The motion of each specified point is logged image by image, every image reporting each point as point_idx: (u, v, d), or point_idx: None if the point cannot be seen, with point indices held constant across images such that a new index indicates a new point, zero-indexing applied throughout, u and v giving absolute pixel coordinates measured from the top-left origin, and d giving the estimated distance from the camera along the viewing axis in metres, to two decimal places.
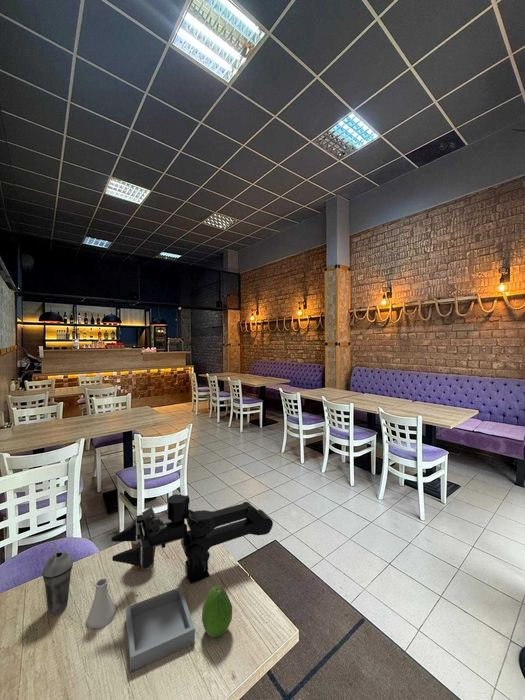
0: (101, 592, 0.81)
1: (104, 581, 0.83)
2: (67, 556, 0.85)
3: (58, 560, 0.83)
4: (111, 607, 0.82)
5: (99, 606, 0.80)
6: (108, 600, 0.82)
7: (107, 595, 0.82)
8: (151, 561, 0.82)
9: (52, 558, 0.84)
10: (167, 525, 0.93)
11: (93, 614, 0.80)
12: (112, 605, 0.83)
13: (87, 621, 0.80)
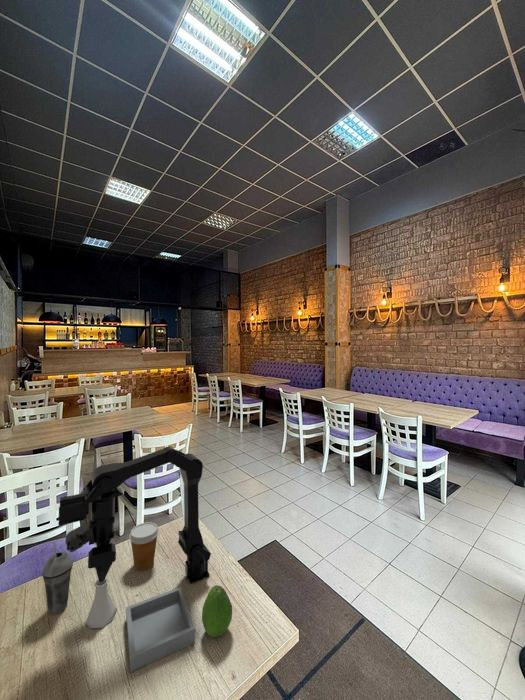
0: (101, 592, 0.81)
1: (104, 581, 0.83)
2: (67, 556, 0.85)
3: (58, 560, 0.83)
4: (111, 607, 0.82)
5: (99, 606, 0.80)
6: (108, 600, 0.82)
7: (107, 595, 0.82)
8: (107, 554, 0.75)
9: (52, 558, 0.84)
10: (91, 518, 0.80)
11: (93, 614, 0.80)
12: (112, 605, 0.83)
13: (87, 621, 0.80)
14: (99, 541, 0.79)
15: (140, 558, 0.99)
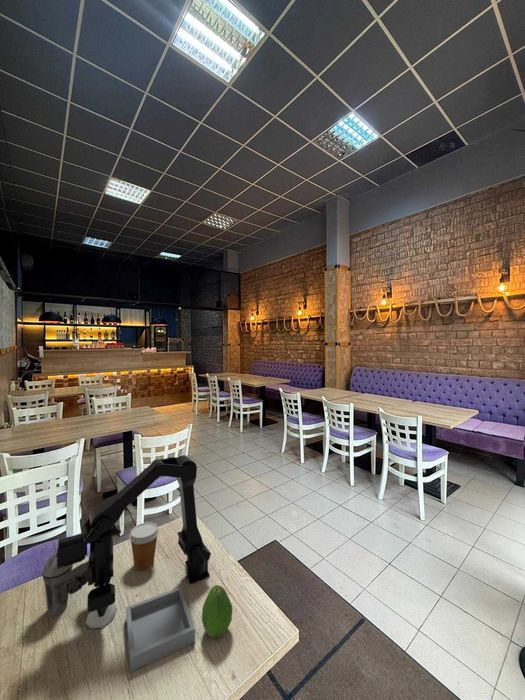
0: None
1: (104, 581, 0.83)
2: None
3: None
4: (111, 607, 0.82)
5: None
6: None
7: None
8: (106, 596, 0.75)
9: (52, 558, 0.84)
10: (89, 557, 0.80)
11: (93, 613, 0.80)
12: (112, 605, 0.83)
13: (87, 621, 0.80)
14: (98, 581, 0.79)
15: (140, 558, 0.99)
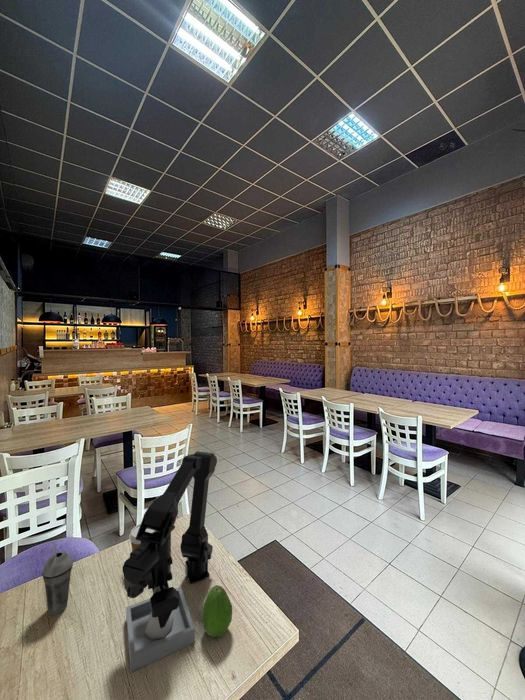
0: None
1: None
2: (67, 556, 0.85)
3: (58, 560, 0.83)
4: None
5: None
6: None
7: None
8: (171, 601, 0.71)
9: (52, 558, 0.84)
10: None
11: (152, 624, 0.76)
12: None
13: (146, 631, 0.76)
14: (158, 584, 0.76)
15: None
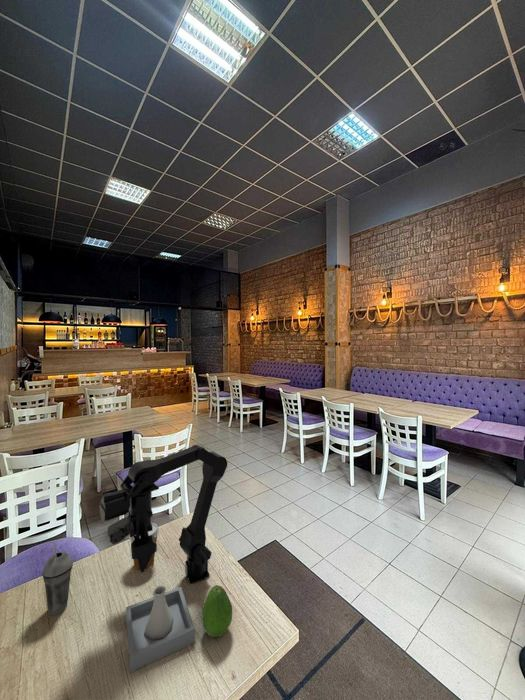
0: (159, 601, 0.77)
1: (161, 589, 0.80)
2: (67, 556, 0.85)
3: (58, 560, 0.83)
4: (169, 616, 0.79)
5: (158, 615, 0.77)
6: (166, 609, 0.78)
7: (165, 604, 0.78)
8: (149, 545, 0.78)
9: (52, 558, 0.84)
10: (130, 511, 0.84)
11: (152, 624, 0.76)
12: (170, 614, 0.80)
13: (146, 631, 0.76)
14: (139, 534, 0.83)
15: None
